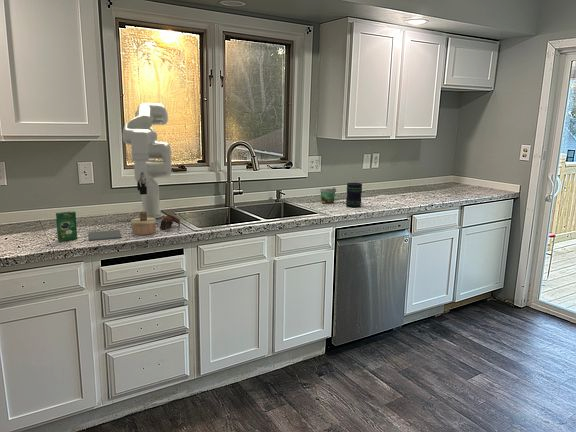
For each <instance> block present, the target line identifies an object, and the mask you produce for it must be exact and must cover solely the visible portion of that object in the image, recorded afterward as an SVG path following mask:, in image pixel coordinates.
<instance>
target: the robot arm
mask: <svg viewBox="0 0 576 432" xmlns="http://www.w3.org/2000/svg"><path fill="white" fill-rule="evenodd" d="M134 115H135V117H133V118H131V119H130V120H128V121H127V122H126V123H125V124H124V126H123V131H122V140H123V142H124V144H126V145H130V146H131V160H132V161H134V162H133V163H134V164H133V165H134V166H133V167H134V168H133V169H134V171H133V172H134V180H135V181H136V182H137V186H136V189H137V191H139V194H140V195H141V209H142V211H141V212H147V217H150V218H155V219H159V218H163V217H164V214H163V213H162V212H161V207H160V206H161V205H160V186H159V183H158V182H157V181H156V180H155V179H161V178H162V179H163V178H164V179H165V178H169V177H171V176H172V149H171V145H170V143H169V142H166V141H158V133H157V131H156V130H155V129H154V128H153V127H152V125H153V126H157V125H158V126H164V125H167V123H168V121H169V116H168V115H169V114H168V111H167V109H166V106H165V105H164V104H162V103H158V102H157V103H155V102H153V103H152V102H144V103H141V104H138V106H137V110H136V111H135V113H134Z"/></svg>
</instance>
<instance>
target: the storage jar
mask: <svg viewBox="0 0 576 432" xmlns="http://www.w3.org/2000/svg"><path fill="white" fill-rule="evenodd" d="M362 192H363V184H362V182H361V183H360V182H347V183H346V200H345V204H346V205H345V206H346V207H347V208H350V209H359V208H361V207H362Z"/></svg>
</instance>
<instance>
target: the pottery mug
mask: <svg viewBox="0 0 576 432" xmlns="http://www.w3.org/2000/svg"><path fill="white" fill-rule="evenodd" d="M174 223H175V224H178V228H180V226H181V219H180V218H178V217H176V216H174V215H171V214H169V213H167V215H165V216H163V217H162V219H161V222H160V226H159V228H160V229H161V230H163V231H164V230H166V229H167V230H171V229H172V226H173V224H174Z"/></svg>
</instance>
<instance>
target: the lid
mask: <svg viewBox="0 0 576 432" xmlns="http://www.w3.org/2000/svg"><path fill="white" fill-rule="evenodd" d="M155 223H156V224H157V218H150V217H147V212H142V211H140V212H139V217H137V218H133V219H130V224H131V226H132V225H140V226H142V225H151V224H155Z"/></svg>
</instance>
